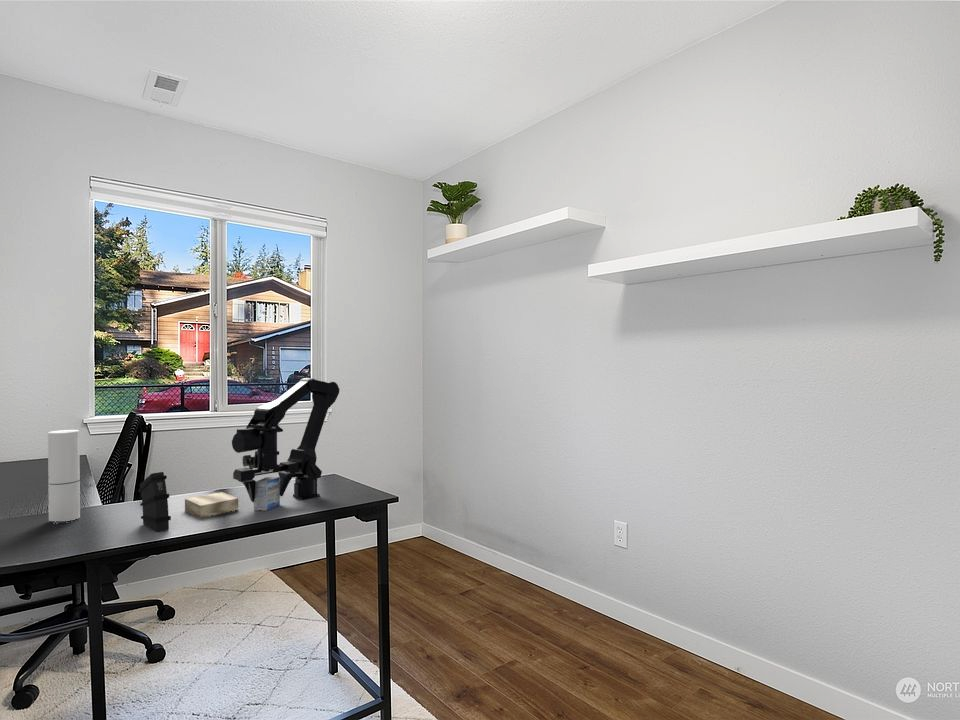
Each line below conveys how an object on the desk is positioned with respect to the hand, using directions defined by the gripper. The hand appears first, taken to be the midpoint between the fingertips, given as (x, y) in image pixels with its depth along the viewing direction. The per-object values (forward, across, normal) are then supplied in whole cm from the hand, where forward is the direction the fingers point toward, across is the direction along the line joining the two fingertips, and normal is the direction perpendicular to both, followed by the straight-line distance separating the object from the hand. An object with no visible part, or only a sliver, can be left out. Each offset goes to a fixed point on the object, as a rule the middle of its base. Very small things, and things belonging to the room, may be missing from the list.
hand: (267, 498), depth 174 cm
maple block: (+3, +13, -9) cm, 16 cm away
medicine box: (+3, 0, 0) cm, 3 cm away
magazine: (+3, +30, -5) cm, 30 cm away
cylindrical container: (+3, +45, -30) cm, 54 cm away
